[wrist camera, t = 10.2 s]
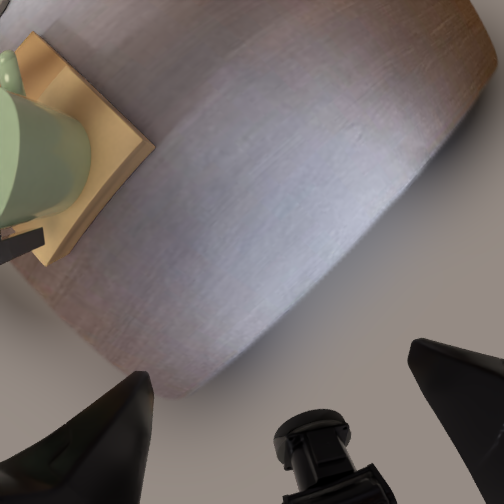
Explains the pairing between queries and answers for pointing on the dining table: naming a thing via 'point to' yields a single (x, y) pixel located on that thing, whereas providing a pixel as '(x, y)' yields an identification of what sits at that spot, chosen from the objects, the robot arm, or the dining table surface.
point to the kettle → (35, 161)
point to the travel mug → (3, 5)
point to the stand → (100, 137)
